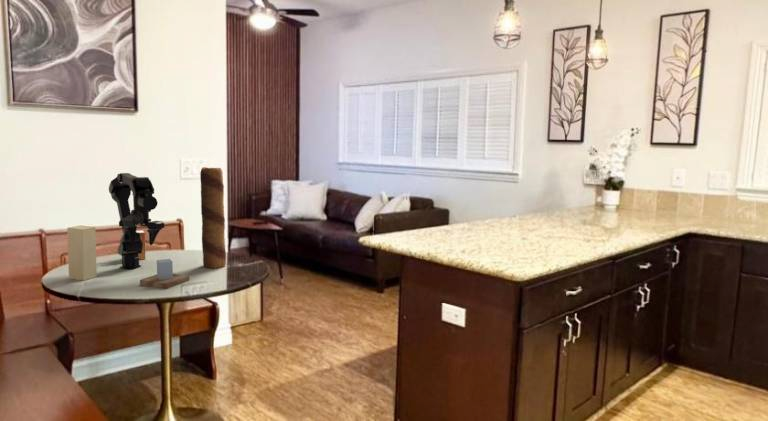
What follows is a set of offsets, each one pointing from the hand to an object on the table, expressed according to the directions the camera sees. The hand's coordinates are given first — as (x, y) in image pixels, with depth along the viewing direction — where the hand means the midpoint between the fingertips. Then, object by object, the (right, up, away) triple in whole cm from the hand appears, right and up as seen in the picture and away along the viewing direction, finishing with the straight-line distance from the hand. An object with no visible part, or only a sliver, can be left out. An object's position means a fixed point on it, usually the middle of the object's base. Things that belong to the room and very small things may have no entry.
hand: (142, 244), depth 226 cm
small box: (-16, -9, +28) cm, 34 cm away
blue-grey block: (+14, -13, -10) cm, 21 cm away
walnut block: (+14, -15, -10) cm, 23 cm away
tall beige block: (-21, -14, -6) cm, 26 cm away
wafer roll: (+24, -12, +19) cm, 33 cm away
